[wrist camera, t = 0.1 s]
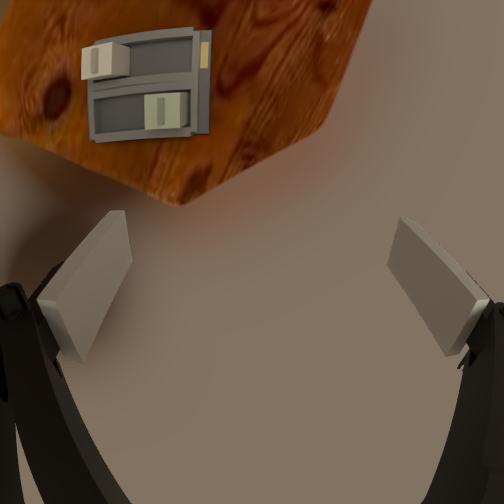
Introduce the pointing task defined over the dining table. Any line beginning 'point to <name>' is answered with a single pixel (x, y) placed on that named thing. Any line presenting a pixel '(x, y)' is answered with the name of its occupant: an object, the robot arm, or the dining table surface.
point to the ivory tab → (105, 61)
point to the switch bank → (153, 84)
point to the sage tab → (166, 110)
